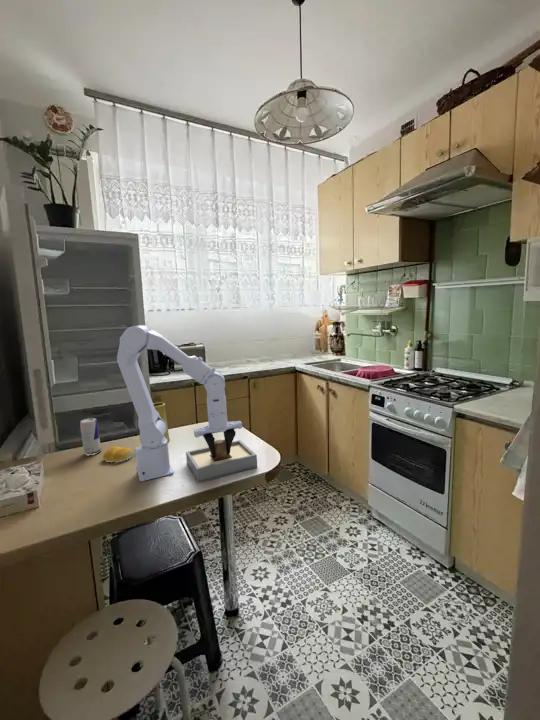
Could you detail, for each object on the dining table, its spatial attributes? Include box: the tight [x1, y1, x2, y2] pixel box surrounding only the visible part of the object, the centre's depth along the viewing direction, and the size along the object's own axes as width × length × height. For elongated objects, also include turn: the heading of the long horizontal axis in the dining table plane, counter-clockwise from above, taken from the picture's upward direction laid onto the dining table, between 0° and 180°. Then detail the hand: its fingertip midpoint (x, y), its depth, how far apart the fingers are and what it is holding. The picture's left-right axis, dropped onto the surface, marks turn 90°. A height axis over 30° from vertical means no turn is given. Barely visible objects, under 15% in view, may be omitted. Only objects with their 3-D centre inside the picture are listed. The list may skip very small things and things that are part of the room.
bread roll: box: [102, 446, 133, 463], centre depth 119 cm, size 8×9×4 cm
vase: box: [153, 401, 171, 442], centre depth 132 cm, size 6×6×14 cm
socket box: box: [185, 439, 258, 483], centre depth 109 cm, size 18×14×4 cm
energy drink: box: [79, 417, 102, 454], centre depth 124 cm, size 5×5×12 cm
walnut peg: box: [214, 439, 227, 462], centre depth 109 cm, size 4×4×6 cm
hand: (220, 454), depth 109 cm, fingers closed on walnut peg, 4 cm apart
